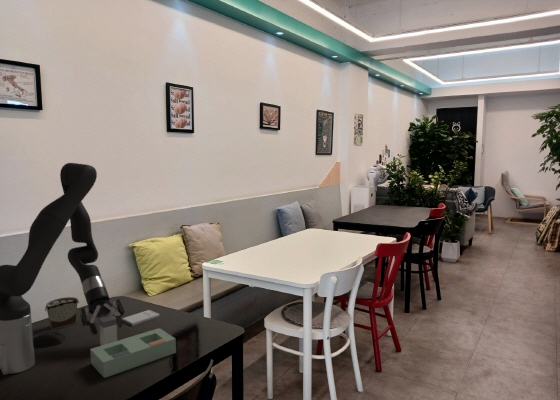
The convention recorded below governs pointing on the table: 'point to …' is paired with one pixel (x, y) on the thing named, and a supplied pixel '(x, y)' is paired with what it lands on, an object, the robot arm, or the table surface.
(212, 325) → the table surface
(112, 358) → the socket block
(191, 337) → the table surface
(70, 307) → the food container
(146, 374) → the table surface
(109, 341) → the plug
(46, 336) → the computer mouse
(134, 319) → the external hard drive
